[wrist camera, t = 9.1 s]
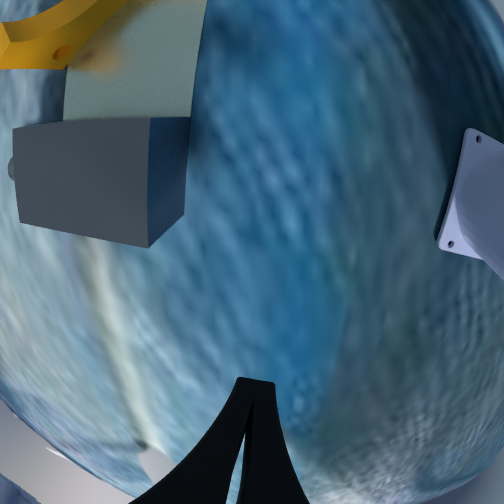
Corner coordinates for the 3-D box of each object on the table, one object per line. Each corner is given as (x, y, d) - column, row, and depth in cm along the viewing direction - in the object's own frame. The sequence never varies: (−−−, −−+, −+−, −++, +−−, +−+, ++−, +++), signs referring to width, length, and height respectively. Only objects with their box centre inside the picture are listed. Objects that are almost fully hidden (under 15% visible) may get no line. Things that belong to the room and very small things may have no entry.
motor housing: (228, -86, 8) (210, -125, 3) (183, 214, 18) (148, 248, 13) (74, -47, 9) (37, -63, 4) (41, 195, 18) (-2, 217, 14)
